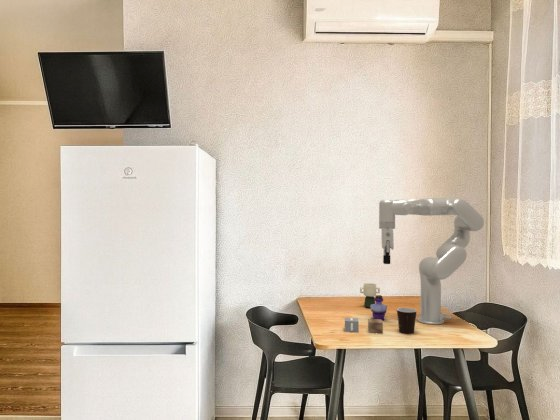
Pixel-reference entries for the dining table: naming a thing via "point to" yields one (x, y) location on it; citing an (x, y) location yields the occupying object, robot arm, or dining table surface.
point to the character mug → (369, 293)
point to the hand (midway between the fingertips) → (386, 263)
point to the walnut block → (375, 326)
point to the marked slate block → (351, 325)
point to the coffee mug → (406, 320)
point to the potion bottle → (378, 308)
